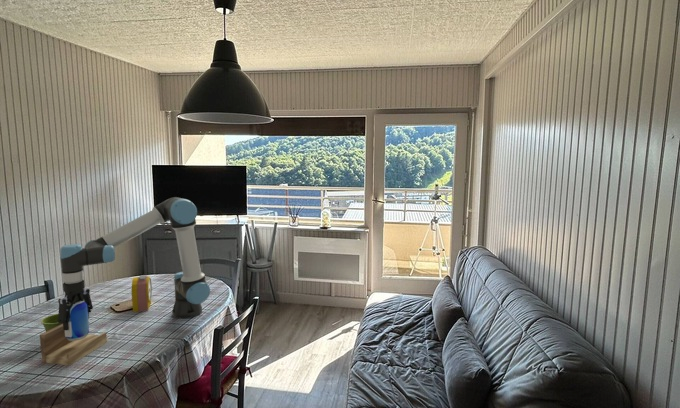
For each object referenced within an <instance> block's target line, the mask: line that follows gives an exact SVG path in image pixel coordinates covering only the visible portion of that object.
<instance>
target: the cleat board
mask: <svg viewBox="0 0 680 408" xmlns="http://www.w3.org/2000/svg"><path fill="white" fill-rule="evenodd" d="M107 337H108V335H107V332H102V333H100V334H90V333H88V335H87V336H86V337H85V338H83V339H81V340H77V341H69V340H68V339H67V338H66V337H65V330H64V329H63V324H61V325H59V326H57V327H55V328H53V329H51V330H49V331H47V332H46V331H45V332H43V333H41V334H39V343H40V351H41V352H40V353H41V363H42V364H44V363H45V364H52V365H61V366H62V365H63V366H71V365H72V364H74V363H76V362H78V361H80V360H81V359H83V358H85V357H86V356H87V355H89V354H90V353H93V352H94V351H95V350H97V349H98V348H101V347H102V346H103V345H105V344H107V343H108V340H107V339H108V338H107Z"/></svg>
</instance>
